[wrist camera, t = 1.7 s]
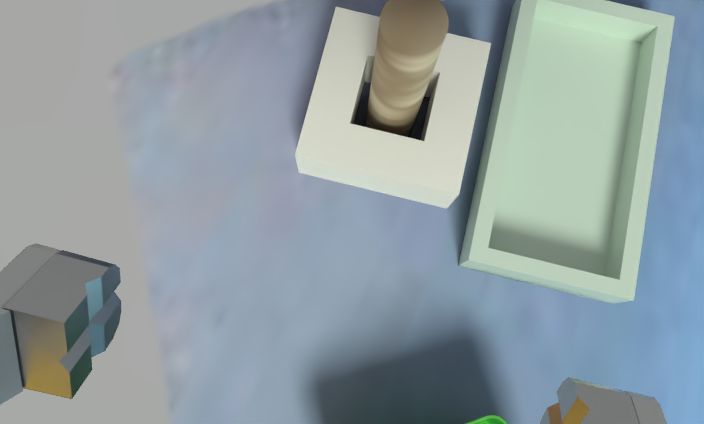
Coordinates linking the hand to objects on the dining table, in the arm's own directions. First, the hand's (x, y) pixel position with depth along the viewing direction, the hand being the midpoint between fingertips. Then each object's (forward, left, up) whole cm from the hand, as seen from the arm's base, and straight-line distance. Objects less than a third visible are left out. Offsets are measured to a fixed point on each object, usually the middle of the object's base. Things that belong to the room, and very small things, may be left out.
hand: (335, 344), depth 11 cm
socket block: (0, -15, -27) cm, 31 cm away
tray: (-12, -16, -27) cm, 33 cm away
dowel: (0, -15, -27) cm, 31 cm away
